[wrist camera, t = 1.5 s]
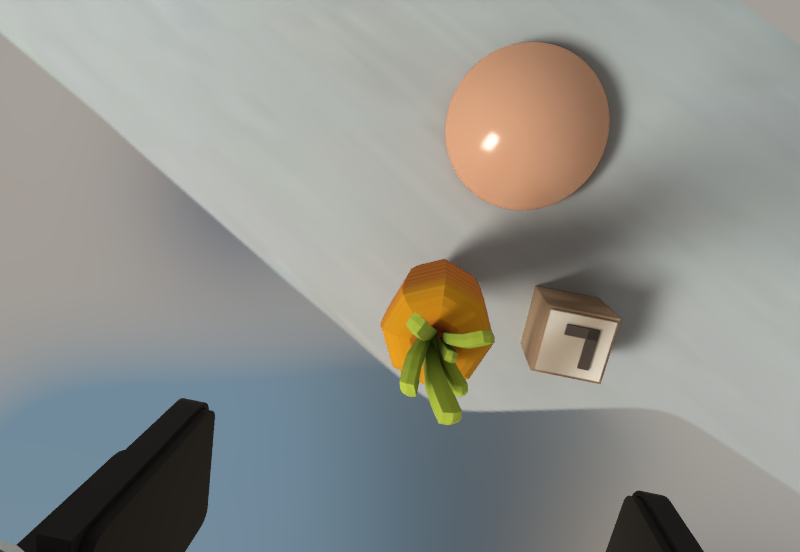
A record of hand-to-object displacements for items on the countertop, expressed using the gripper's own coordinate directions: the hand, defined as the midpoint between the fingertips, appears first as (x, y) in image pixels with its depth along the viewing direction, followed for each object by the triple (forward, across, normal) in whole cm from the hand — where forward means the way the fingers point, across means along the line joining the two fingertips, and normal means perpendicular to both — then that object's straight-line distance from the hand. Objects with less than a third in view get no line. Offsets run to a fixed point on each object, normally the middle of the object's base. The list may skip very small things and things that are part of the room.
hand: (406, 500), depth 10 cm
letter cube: (+20, -9, +1) cm, 22 cm away
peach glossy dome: (+20, -4, -10) cm, 23 cm away
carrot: (+21, -1, 0) cm, 21 cm away
